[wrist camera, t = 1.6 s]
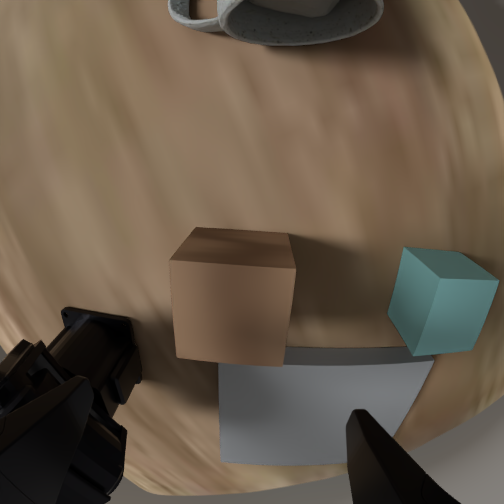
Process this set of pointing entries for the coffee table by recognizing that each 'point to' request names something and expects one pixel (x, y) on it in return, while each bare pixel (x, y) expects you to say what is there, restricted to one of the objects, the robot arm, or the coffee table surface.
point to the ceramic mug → (284, 19)
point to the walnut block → (232, 296)
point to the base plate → (313, 402)
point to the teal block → (440, 301)
